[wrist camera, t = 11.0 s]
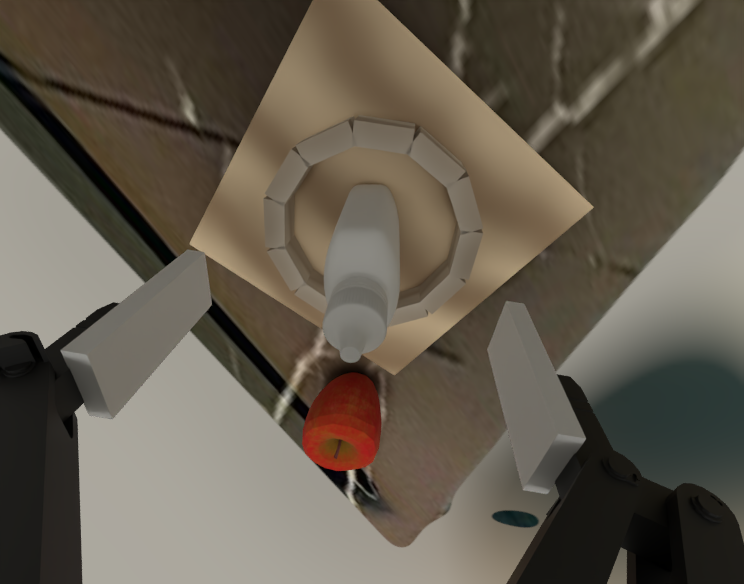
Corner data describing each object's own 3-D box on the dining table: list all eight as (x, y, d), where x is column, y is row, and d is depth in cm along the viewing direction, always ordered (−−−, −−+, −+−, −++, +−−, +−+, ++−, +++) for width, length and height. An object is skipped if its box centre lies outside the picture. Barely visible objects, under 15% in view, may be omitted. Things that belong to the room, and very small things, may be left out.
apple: (341, 345, 31) (321, 418, 25) (400, 379, 32) (395, 456, 26) (307, 386, 34) (282, 459, 28) (362, 415, 35) (350, 491, 29)
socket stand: (342, -32, 18) (324, -55, 14) (580, 196, 22) (609, 220, 19) (203, 232, 26) (172, 257, 23) (395, 358, 31) (392, 394, 28)
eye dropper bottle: (321, 247, 23) (262, 382, 13) (360, 169, 21) (325, 261, 10) (380, 277, 24) (368, 425, 14) (425, 205, 22) (451, 323, 11)
